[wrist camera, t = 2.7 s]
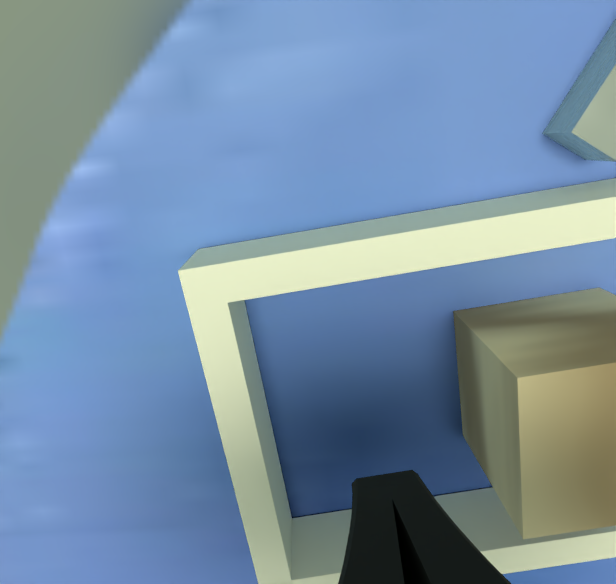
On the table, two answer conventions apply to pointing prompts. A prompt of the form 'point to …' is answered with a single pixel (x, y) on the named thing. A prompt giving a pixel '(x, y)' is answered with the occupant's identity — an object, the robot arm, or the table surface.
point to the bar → (590, 107)
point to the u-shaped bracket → (348, 268)
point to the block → (543, 407)
